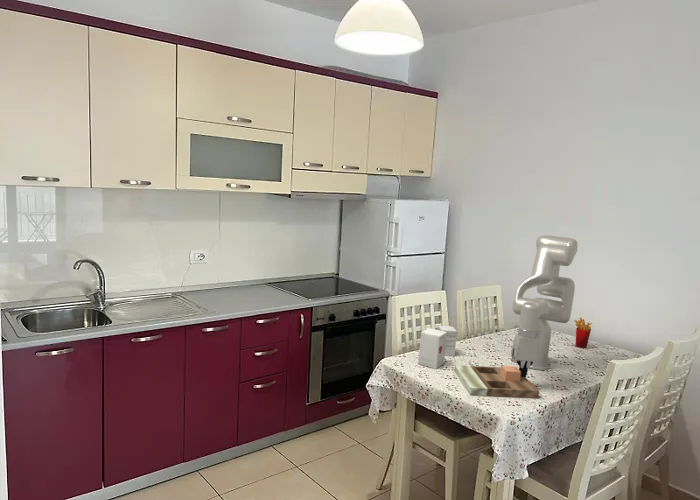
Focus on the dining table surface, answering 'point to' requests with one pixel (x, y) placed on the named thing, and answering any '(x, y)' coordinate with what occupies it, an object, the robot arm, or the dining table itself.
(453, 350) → the supplement box
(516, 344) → the robot arm
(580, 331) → the french fries
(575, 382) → the dining table surface
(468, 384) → the board
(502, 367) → the terracotta block
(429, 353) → the supplement box
